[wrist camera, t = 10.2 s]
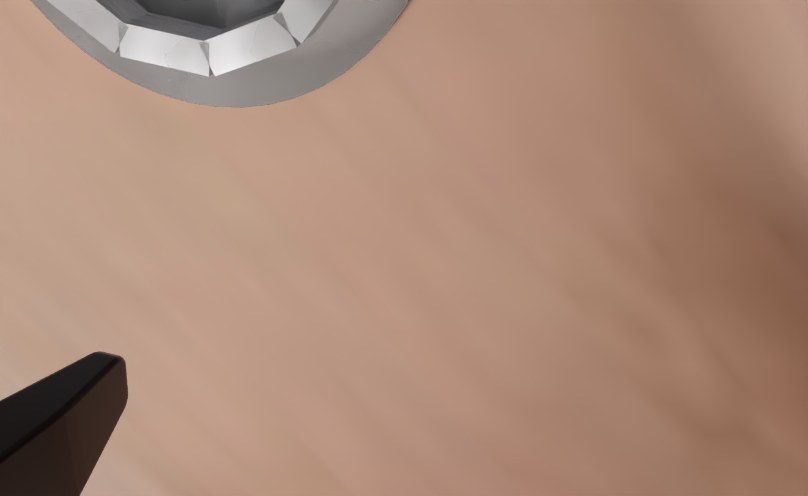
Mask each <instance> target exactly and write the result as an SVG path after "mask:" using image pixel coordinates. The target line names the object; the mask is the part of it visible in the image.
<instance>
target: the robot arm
mask: <svg viewBox="0 0 808 496" xmlns="http://www.w3.org/2000/svg"><path fill="white" fill-rule="evenodd" d="M127 399H128V386H127V374H126V364H125V360H124V359H123V358H122V357H121V356H118V355H114V354H110V353H105V352H94V353H92V354H90V355H88V356H86V357H84V358H82V359H80V360H78V361H76V362H74V363H72V364H70V365H68V366H66V367H65V368H63V369H61V370H59V371H57V372H55V373H53V374H51V375H49V376H47V377H45V378H43V379H41V380H39V381H37V382H36V383H34V384H32V385H30V386H28V387H26V388H24V389H22V390H20V391H18V392H16V393H14V394H12V395H10V396H8V397H7V398H5V399H3V400H1V401H0V496H80V494H81V492H82V490H83V488H84V486H85V484H86V483H87V481H88V479H89V477H90V475H91V473H92V471H93V469H94V467H95V465H96V463H97V461H98V459H99V457H100V455H101V453H102V451H103V450H104V448H105V446H106V444H107V442H108V440H109V438H110V436H111V434H112V432H113V430H114V428H115V426H116V424H117V422H118V420H119V418H120V416H121V414H122V413H123V411H124V408H125V406H126V403H127Z"/></svg>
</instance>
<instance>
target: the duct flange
mask: <svg viewBox="0 0 808 496" xmlns="http://www.w3.org/2000/svg"><path fill="white" fill-rule="evenodd" d="M31 1H32V3H33V4H34V5H35V6H36V7H37V8H38V9H39V10H40V11H41V12H42V13H43V14H44V15H45V16H46V17H47V19H48V20H49V21H50V22H51V23H52V24H53V25H54V26H55V27H56V28H57V29H58V30H59V31H60V32H62V33H63V34H64V35H65V36H66V37H67V38H69V39H70V40H71V41H72V42H73V43H74V44H75V45H77V46H78V47H79V48H80V49H81V50H82V51H84V52H85V53H87V54H88V55H90V56H91V57H92V58H94V59H95V60H97V61H98V62H100V63H101V64H102V65H104V66H105V67H107V68H108V69H110V70H112V71H113V72H115V73H117V74H119V75H121V76H122V77H124V78H126V79H128V80H130V81H131V82H133V83H135V84H138V85H140V86H142V87H145V88H147V89H149V90H152V91H154V92H156V93H159V94H161V95H165V96H168V97H172V98H175V99H178V100H182V101H185V102H189V103H195V104H201V105H208V106H214V107H240V108H242V107H252V106H262V105H269V104H273V103H277V102H281V101H285V100H289V99H293V98H296V97H299V96H301V95H303V94H306V93H308V92H311V91H313V90H316V89H318V88H320V87H322V86H323V85H325V84H327V83H329V82H330V81H332V80H334V79H335V78H337V77H339V76H340V75H342V74H344V73H345V72H346V71H347V70H348V69H350V68H351V67H352V66H353V65H355V64H356V63H357V62H358V61H360V60H361V59H362V58H363V57H365V56H366V55H367V54H368V53H369V51H370V50H371V49H372V48H373V47H374V46H375V45H376V44H377V43H378V42H379V41H380V40H381V39H382V38H383V36H384V35H385V34H386V33H387V32H388V31H389V29H390V28H391V26H392V25H393V23H394V22H395V21H396V19H397V18H398V16H399V15H400V14H401V12H402V11H403V9H404V8H405V6H406V5H407V3H408V1H409V0H188V1H183V0H31Z"/></svg>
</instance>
